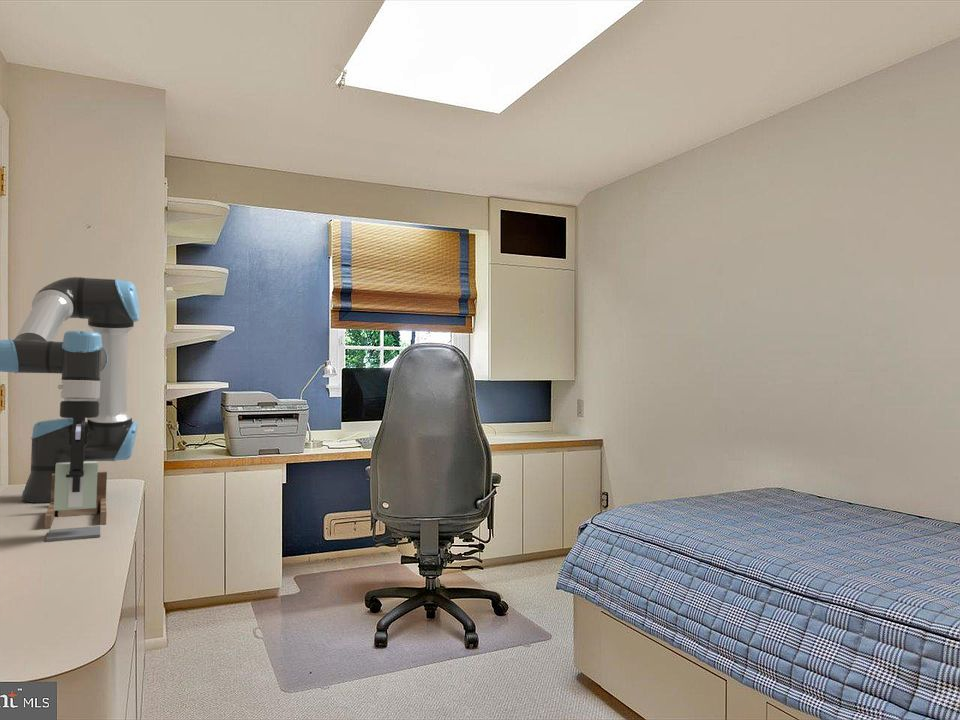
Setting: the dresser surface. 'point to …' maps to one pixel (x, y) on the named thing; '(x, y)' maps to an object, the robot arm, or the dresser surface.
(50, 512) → the rack
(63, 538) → the rubber pad
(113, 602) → the dresser surface
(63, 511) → the offcut stack
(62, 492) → the block
